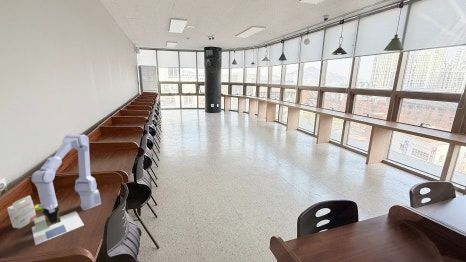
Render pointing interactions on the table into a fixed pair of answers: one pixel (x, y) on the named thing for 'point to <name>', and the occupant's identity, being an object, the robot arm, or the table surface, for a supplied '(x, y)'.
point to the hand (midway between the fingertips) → (53, 219)
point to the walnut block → (49, 220)
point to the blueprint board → (58, 228)
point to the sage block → (40, 223)
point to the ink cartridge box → (22, 212)
